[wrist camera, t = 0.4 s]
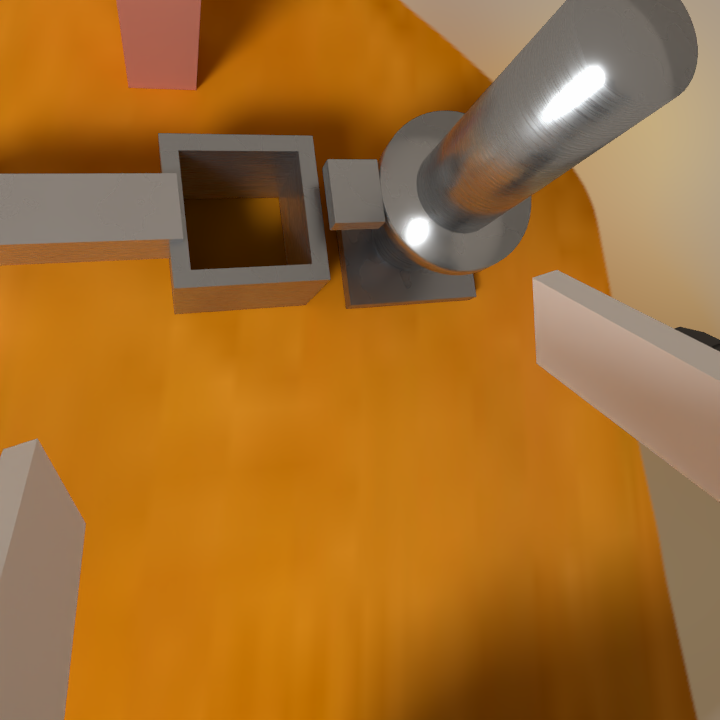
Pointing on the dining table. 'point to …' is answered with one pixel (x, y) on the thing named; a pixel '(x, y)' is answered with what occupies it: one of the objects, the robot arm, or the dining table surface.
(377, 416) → the dining table surface
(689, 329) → the robot arm
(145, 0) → the wedge pin
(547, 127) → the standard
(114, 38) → the dining table surface
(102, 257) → the bracket
